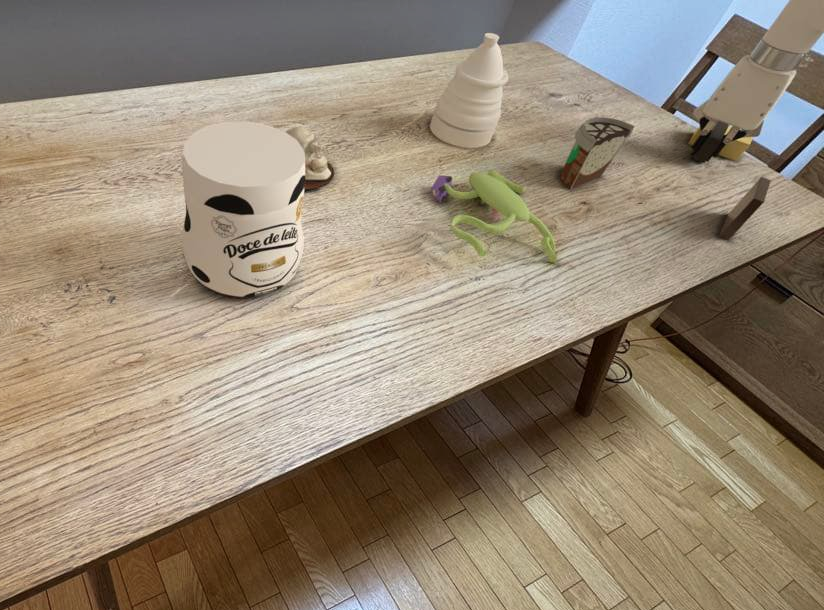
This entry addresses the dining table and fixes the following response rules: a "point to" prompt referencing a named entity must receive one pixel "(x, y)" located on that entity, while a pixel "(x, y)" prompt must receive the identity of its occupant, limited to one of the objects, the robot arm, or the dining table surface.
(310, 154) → the cream carved statuette
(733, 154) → the butter block
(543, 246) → the figurine
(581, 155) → the food container
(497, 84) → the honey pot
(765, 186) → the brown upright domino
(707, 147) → the knife
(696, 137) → the block
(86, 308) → the dining table surface
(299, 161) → the milk container
